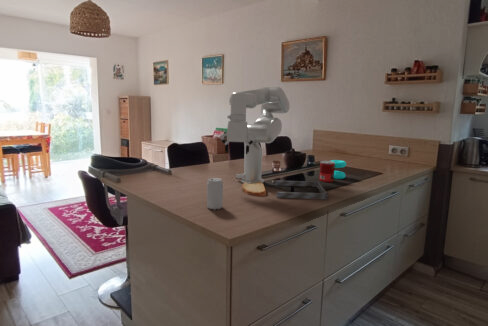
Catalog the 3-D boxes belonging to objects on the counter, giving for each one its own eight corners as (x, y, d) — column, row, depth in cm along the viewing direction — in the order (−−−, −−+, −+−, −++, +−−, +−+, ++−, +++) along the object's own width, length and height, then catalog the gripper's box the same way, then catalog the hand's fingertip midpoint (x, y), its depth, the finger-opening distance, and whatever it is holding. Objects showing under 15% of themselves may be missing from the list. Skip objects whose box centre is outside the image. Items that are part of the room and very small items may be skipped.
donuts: (347, 160, 197) (345, 163, 188) (346, 176, 199) (344, 180, 190) (330, 159, 201) (328, 161, 191) (329, 175, 202) (327, 178, 193)
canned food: (334, 182, 182) (335, 163, 180) (319, 181, 184) (320, 162, 182) (333, 179, 189) (334, 161, 188) (319, 178, 191) (320, 160, 189)
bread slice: (262, 198, 151) (262, 190, 150) (230, 192, 161) (230, 184, 160) (280, 190, 166) (280, 183, 165) (250, 185, 175) (250, 178, 175)
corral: (276, 197, 151) (276, 192, 150) (274, 185, 175) (274, 180, 174) (327, 199, 149) (327, 194, 149) (318, 186, 173) (318, 181, 173)
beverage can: (207, 205, 137) (207, 177, 135) (222, 205, 138) (222, 177, 136) (206, 210, 131) (206, 181, 129) (222, 210, 132) (223, 181, 129)
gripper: (219, 117, 156) (218, 153, 158) (255, 119, 154) (254, 155, 157) (221, 117, 163) (220, 151, 166) (256, 119, 162) (254, 153, 164)
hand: (237, 153), depth 161 cm, fingers open, 9 cm apart
